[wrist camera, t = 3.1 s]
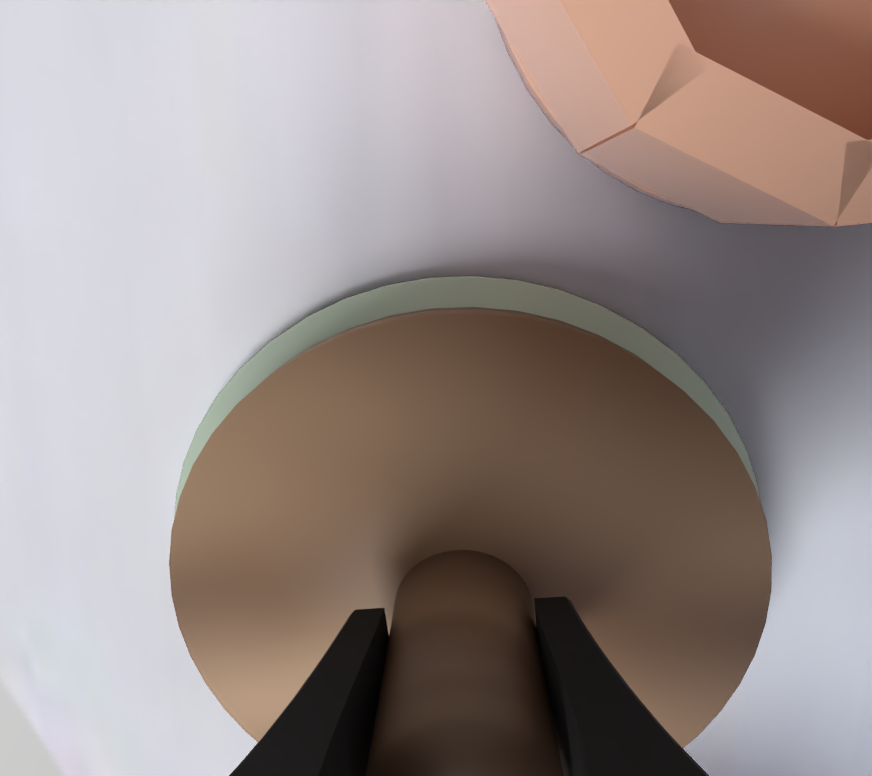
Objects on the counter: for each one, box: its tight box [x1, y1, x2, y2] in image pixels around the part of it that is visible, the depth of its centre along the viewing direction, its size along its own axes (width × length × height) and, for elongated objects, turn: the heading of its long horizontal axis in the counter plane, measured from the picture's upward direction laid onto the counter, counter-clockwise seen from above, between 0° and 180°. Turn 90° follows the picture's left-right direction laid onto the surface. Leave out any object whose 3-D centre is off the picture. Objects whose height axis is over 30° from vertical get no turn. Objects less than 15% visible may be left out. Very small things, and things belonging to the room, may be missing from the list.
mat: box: [174, 276, 760, 519], centre depth 13 cm, size 14×14×1 cm
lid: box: [169, 307, 772, 776], centre depth 10 cm, size 13×13×5 cm
